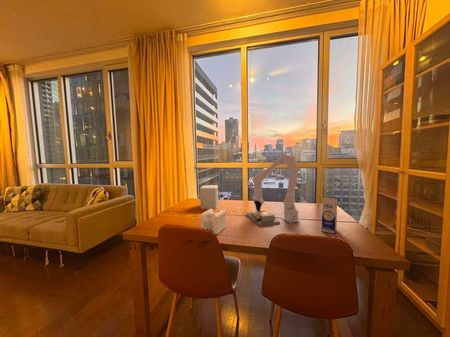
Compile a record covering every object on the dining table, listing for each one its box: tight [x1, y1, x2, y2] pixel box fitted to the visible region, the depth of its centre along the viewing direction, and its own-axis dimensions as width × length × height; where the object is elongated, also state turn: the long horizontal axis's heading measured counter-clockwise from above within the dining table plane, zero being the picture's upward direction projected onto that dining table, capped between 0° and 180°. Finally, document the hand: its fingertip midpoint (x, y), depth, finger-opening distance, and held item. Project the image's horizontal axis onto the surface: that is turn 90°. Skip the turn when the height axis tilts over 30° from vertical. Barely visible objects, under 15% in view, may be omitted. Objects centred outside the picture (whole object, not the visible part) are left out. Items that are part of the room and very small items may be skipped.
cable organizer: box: [200, 209, 228, 235], centre depth 127 cm, size 15×11×12 cm
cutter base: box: [245, 211, 281, 227], centre depth 145 cm, size 24×14×6 cm, turn 15°
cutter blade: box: [257, 210, 269, 218], centre depth 142 cm, size 9×5×4 cm, turn 15°
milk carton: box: [321, 196, 338, 235], centre depth 121 cm, size 7×7×20 cm
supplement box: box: [199, 184, 220, 210], centre depth 179 cm, size 13×13×18 cm
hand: (258, 210), depth 152 cm, fingers closed
